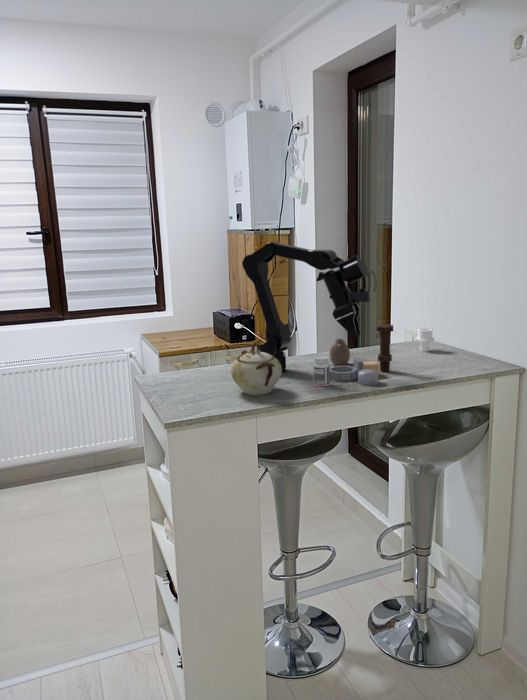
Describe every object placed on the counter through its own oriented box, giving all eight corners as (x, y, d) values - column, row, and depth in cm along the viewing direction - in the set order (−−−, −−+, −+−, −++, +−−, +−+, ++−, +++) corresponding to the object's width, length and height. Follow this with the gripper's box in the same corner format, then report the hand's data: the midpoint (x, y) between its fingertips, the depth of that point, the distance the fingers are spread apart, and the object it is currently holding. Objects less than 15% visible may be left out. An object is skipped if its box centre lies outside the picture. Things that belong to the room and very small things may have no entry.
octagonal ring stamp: (331, 381, 182) (331, 365, 181) (325, 374, 191) (325, 358, 189) (381, 378, 183) (381, 362, 182) (372, 371, 192) (372, 355, 191)
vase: (327, 366, 200) (327, 341, 198) (332, 361, 207) (331, 337, 205) (348, 367, 198) (348, 341, 196) (351, 362, 205) (351, 337, 203)
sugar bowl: (295, 395, 169) (294, 344, 165) (247, 404, 162) (245, 351, 159) (265, 380, 186) (264, 333, 183) (221, 387, 180) (219, 338, 177)
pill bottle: (323, 381, 182) (323, 355, 180) (332, 385, 178) (332, 358, 176) (311, 383, 180) (310, 357, 178) (319, 387, 176) (319, 360, 174)
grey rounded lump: (360, 386, 176) (360, 374, 175) (355, 380, 182) (355, 370, 181) (380, 385, 177) (380, 373, 176) (374, 379, 183) (374, 368, 182)
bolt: (392, 373, 189) (393, 327, 185) (376, 373, 190) (377, 327, 186) (392, 368, 194) (393, 324, 191) (376, 368, 195) (377, 324, 192)
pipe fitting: (421, 347, 223) (422, 327, 221) (437, 350, 218) (438, 329, 216) (411, 350, 219) (411, 329, 217) (427, 353, 214) (427, 331, 212)
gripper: (359, 277, 169) (380, 328, 169) (365, 278, 187) (384, 324, 186) (323, 293, 172) (344, 342, 172) (332, 292, 190) (351, 337, 190)
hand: (357, 336), depth 180 cm, fingers open, 9 cm apart
